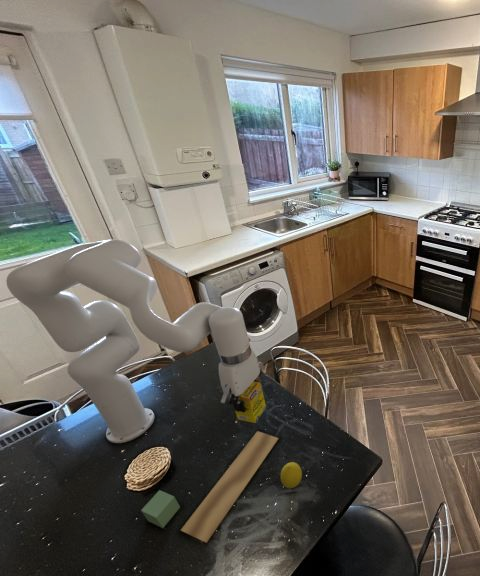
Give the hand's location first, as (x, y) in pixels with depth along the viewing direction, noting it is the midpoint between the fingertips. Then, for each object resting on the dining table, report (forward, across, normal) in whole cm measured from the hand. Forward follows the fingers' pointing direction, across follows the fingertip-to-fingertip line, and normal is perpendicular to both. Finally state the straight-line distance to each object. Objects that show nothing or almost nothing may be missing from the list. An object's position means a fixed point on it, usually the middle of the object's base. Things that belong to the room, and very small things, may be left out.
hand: (248, 400), depth 89 cm
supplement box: (+6, 0, 0) cm, 6 cm away
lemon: (+18, +8, +17) cm, 26 cm away
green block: (+18, +25, -10) cm, 32 cm away
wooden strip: (+18, +12, +1) cm, 22 cm away
